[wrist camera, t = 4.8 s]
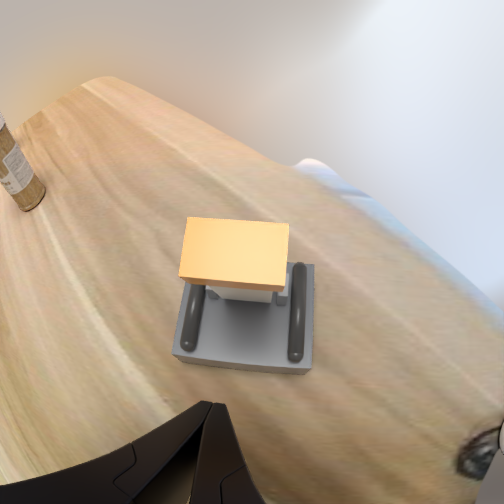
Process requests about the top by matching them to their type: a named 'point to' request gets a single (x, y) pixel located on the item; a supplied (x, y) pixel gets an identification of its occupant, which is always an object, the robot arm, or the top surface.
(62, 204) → the top surface
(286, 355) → the grey railed base plate
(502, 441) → the drinking glass
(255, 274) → the lever
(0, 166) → the sprinkles bottle
